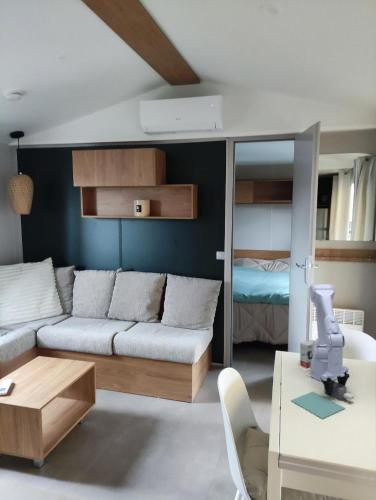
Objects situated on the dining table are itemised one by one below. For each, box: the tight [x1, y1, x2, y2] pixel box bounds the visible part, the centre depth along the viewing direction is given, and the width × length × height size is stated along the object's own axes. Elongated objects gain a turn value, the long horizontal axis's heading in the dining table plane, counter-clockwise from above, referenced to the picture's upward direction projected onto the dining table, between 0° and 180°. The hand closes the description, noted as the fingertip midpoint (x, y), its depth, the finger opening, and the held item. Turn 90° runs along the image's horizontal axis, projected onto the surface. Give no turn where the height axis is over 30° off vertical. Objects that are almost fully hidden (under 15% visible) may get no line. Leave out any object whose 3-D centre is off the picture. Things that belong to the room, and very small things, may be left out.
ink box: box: [299, 339, 320, 369], centre depth 183 cm, size 9×5×12 cm, turn 114°
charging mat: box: [290, 391, 346, 420], centre depth 146 cm, size 16×13×1 cm
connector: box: [323, 380, 355, 402], centre depth 152 cm, size 13×4×5 cm, turn 30°
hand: (335, 392), depth 153 cm, fingers open, 7 cm apart
